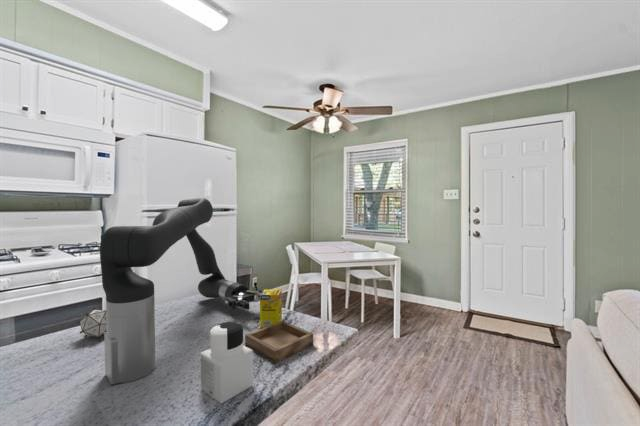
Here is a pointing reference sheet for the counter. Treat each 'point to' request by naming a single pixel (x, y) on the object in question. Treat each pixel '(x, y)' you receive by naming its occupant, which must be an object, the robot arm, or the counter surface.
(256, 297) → the robot arm
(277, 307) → the supplement box
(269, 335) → the tray
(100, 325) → the game die
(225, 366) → the container
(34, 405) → the counter surface
